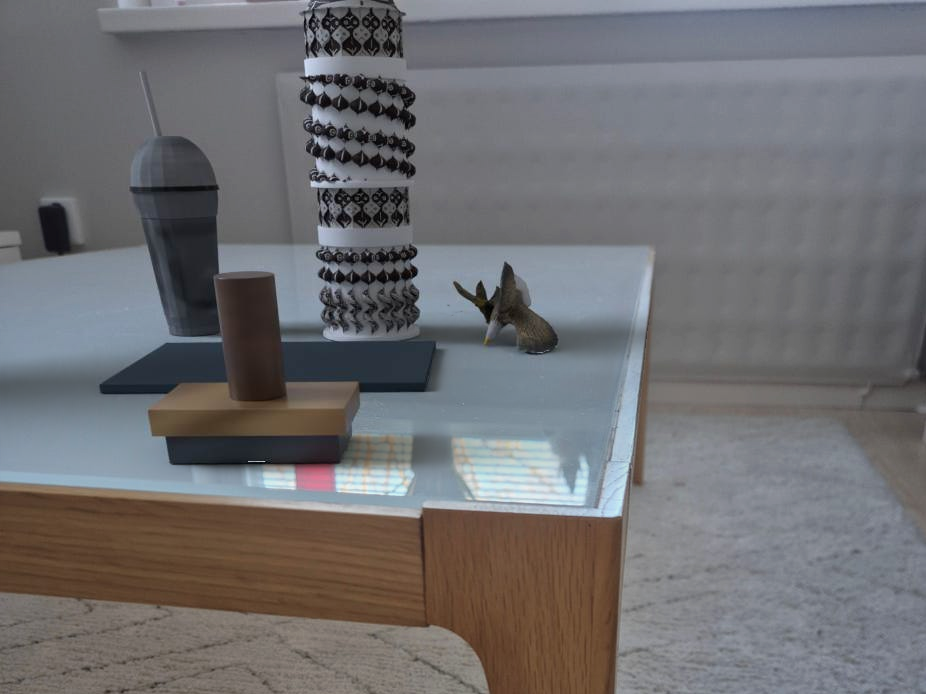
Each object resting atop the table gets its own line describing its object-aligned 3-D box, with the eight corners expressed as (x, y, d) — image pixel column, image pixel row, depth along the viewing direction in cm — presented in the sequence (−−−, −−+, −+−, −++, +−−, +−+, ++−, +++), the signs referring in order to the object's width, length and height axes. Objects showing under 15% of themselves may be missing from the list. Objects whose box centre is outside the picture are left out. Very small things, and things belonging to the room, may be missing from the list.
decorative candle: (303, 342, 79) (270, -18, 67) (337, 323, 87) (313, -1, 75) (409, 345, 78) (393, -23, 66) (433, 326, 86) (424, -5, 74)
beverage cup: (243, 334, 82) (210, 68, 73) (156, 341, 80) (111, 67, 71) (230, 322, 88) (199, 74, 79) (150, 327, 86) (107, 73, 77)
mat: (100, 393, 63) (98, 384, 63) (167, 350, 77) (165, 342, 76) (425, 391, 63) (424, 382, 63) (436, 347, 76) (435, 340, 76)
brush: (156, 467, 49) (124, 283, 45) (189, 435, 54) (163, 268, 50) (348, 465, 49) (334, 281, 44) (362, 434, 54) (351, 266, 50)
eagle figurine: (432, 326, 79) (481, 321, 71) (467, 247, 78) (520, 233, 70) (504, 370, 82) (557, 369, 75) (537, 294, 82) (594, 286, 74)
